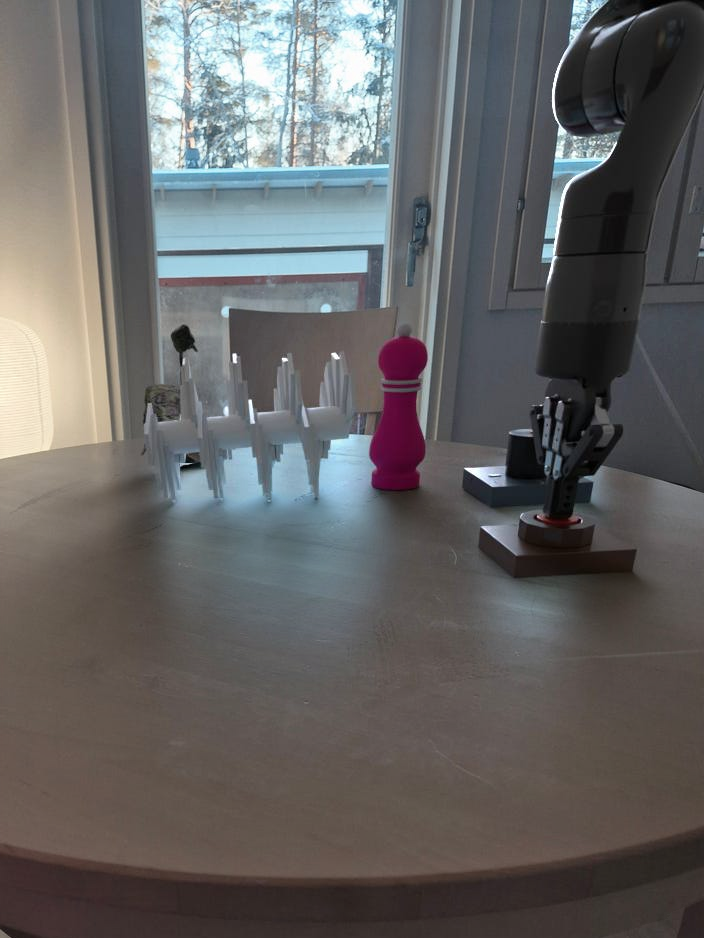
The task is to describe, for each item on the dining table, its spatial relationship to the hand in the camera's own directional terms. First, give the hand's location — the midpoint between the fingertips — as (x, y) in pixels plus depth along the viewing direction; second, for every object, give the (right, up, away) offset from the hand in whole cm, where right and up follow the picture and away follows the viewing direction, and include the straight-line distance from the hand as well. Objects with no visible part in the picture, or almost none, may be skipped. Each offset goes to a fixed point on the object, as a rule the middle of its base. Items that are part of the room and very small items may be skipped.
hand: (556, 516), depth 69 cm
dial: (+6, +9, +22) cm, 24 cm away
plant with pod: (-38, +16, +46) cm, 62 cm away
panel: (+6, +7, +23) cm, 24 cm away
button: (0, -2, +1) cm, 2 cm away
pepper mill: (-8, +9, +30) cm, 32 cm away
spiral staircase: (-28, +7, +26) cm, 39 cm away
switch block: (0, -4, +2) cm, 4 cm away
